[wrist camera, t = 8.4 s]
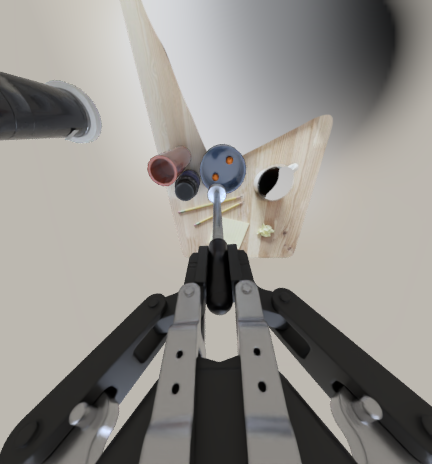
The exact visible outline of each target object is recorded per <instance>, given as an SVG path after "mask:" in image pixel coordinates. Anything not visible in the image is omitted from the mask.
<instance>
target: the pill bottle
mask: <svg viewBox="0 0 432 464" xmlns="http://www.w3.org/2000/svg"><path fill="white" fill-rule="evenodd" d="M199 185H200V177H199V175H198V174H197V173H196V172H195V171H193V170H185V171H184V172H182V174H181V175H180V176H179V178H178V179H177V180H176V182H175V194H176V196H177V197H178V198H179V199H180V200H183V201H188V200H190V199H192V198H193V197H194V196H196V194H197V192H198V188H199Z"/></svg>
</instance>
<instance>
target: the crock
mask: <svg viewBox="0 0 432 464" xmlns="http://www.w3.org/2000/svg"><path fill="white" fill-rule="evenodd" d="M190 161H191V153H190V151H189V150H188V148H186V147H184V146H178V147H176V148H174V149H171V150H169V151H166V152H164V153H161V154H159V155H157V156H155V157H153V158H151V159H150V161H149V163H148V173H149V176H150V177H151V179H152V180H153V181H154V182H155V183H157V184H158V185H162V186H169V185H171V184H173V183H174V182H175V180H176V179H177V178H178V177H179V175H180V174H181V173H182V171H183V170H184V169H185V168H186V166H187V165H188V164H189V162H190Z"/></svg>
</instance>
